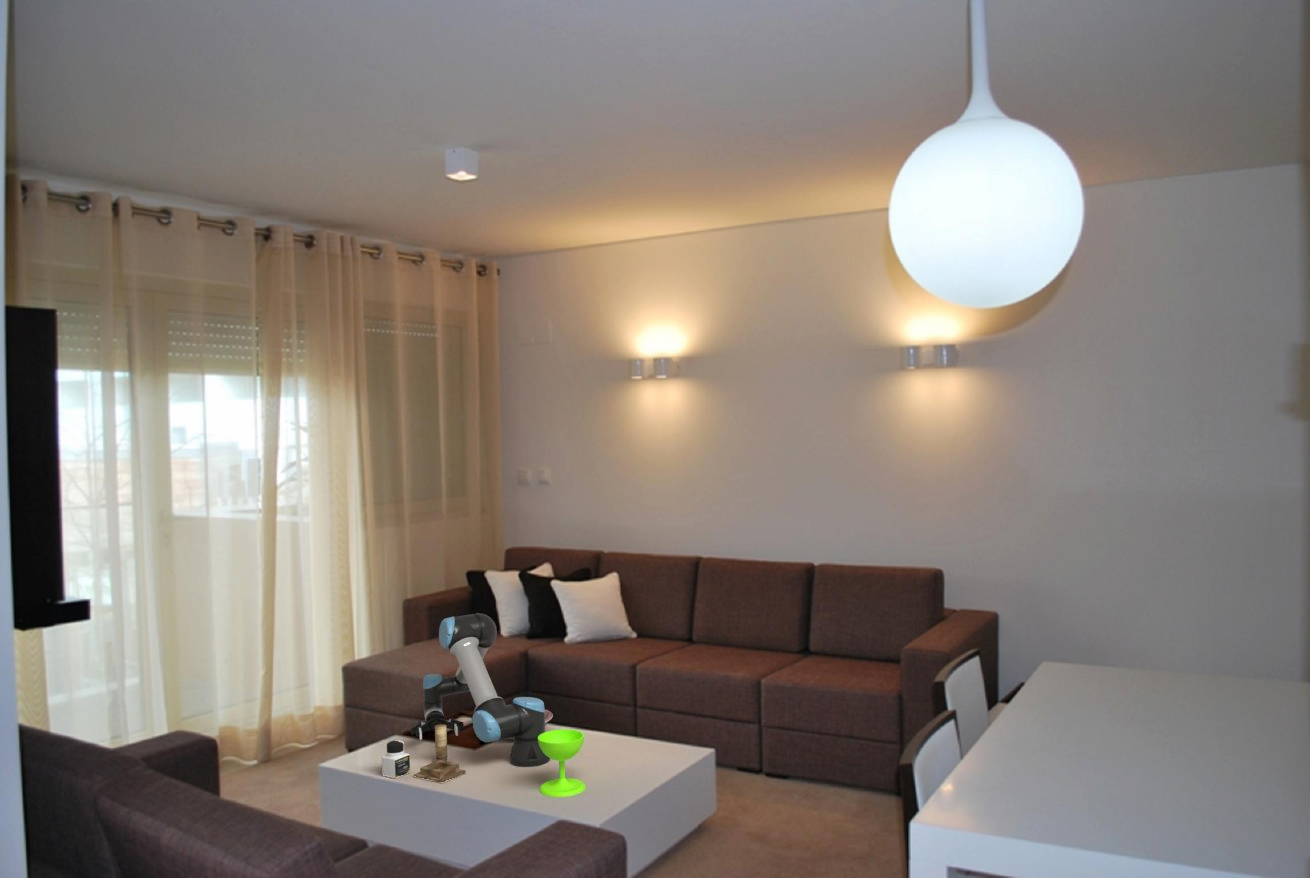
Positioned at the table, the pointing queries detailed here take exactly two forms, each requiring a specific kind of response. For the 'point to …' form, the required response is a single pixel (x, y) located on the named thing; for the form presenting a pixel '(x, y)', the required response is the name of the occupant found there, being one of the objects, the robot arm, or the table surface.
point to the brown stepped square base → (440, 771)
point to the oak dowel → (441, 742)
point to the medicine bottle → (395, 760)
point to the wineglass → (561, 760)
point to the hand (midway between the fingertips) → (439, 734)
